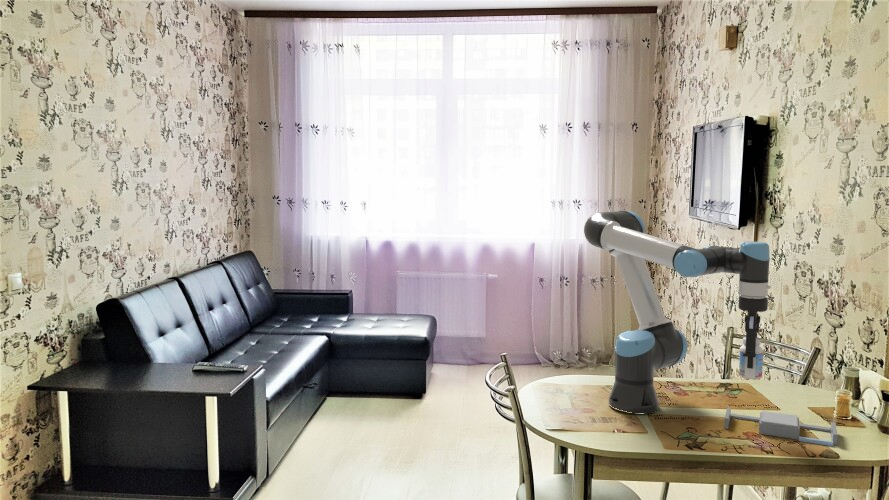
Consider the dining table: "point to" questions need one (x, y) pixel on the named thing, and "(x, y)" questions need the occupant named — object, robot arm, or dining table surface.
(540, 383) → the dining table surface
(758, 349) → the pill bottle
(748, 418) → the grey block with rods
